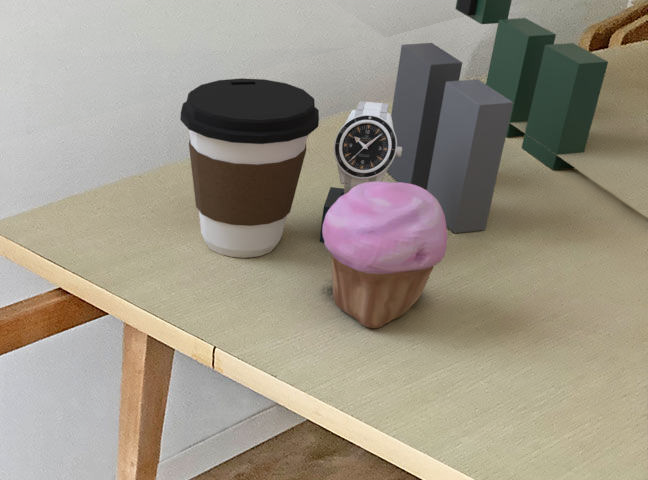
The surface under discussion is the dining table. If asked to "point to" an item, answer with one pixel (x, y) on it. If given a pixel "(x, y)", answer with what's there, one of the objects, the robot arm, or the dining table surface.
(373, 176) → the watch
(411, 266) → the cupcake
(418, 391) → the dining table surface
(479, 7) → the green tan-banded upright block
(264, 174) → the coffee cup
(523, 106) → the green books
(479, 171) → the grey books
